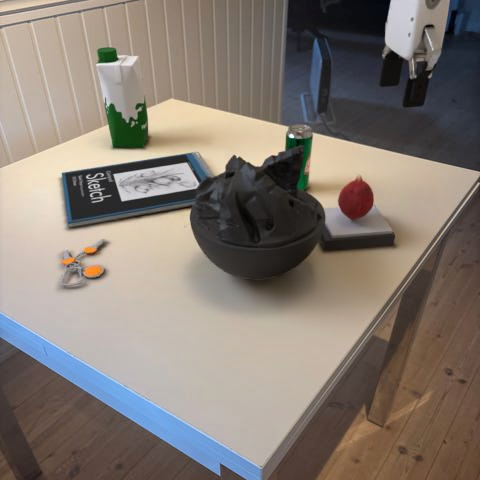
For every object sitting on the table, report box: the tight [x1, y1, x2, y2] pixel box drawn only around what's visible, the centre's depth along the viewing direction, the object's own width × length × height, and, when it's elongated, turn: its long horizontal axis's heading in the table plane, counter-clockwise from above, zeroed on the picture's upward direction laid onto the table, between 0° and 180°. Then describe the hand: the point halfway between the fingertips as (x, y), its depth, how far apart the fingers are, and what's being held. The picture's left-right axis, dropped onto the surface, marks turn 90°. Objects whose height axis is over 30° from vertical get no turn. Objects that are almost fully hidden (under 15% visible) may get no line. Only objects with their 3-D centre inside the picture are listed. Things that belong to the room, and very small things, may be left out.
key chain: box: [59, 238, 106, 287], centre depth 79 cm, size 13×7×1 cm, turn 7°
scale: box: [318, 204, 397, 252], centre depth 85 cm, size 12×10×3 cm
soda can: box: [284, 123, 314, 191], centre depth 95 cm, size 5×5×12 cm
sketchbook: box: [61, 151, 216, 229], centre depth 98 cm, size 22×30×2 cm
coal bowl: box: [189, 145, 326, 281], centre depth 72 cm, size 20×20×19 cm
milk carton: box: [95, 46, 149, 149], centre depth 110 cm, size 9×9×20 cm
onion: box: [337, 174, 375, 220], centre depth 82 cm, size 6×6×8 cm
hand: (399, 95), depth 75 cm, fingers open, 9 cm apart
